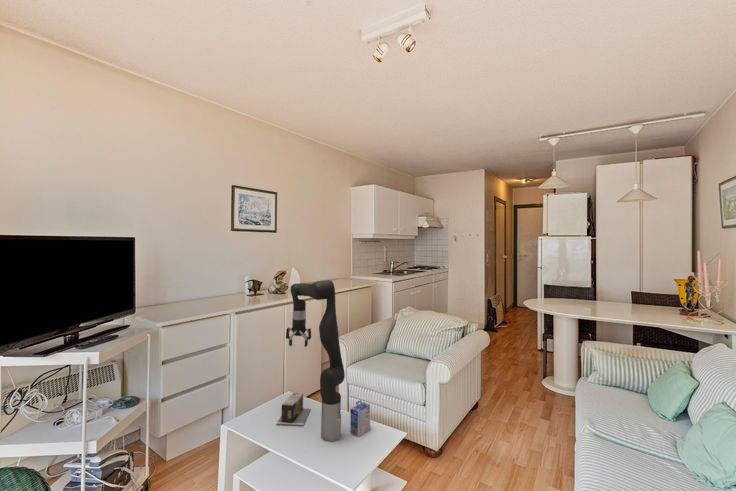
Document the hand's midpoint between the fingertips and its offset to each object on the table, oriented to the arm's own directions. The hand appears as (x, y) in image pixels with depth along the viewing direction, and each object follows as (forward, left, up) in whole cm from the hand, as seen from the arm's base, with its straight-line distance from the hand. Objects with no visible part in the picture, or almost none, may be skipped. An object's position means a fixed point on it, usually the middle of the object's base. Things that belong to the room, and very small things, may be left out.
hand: (298, 346), depth 193 cm
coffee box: (-2, +5, -29) cm, 29 cm away
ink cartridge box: (-38, +24, -34) cm, 57 cm away
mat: (-2, +13, -34) cm, 37 cm away
